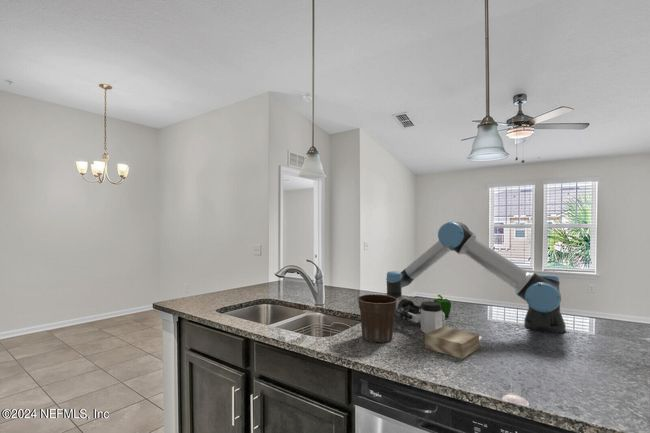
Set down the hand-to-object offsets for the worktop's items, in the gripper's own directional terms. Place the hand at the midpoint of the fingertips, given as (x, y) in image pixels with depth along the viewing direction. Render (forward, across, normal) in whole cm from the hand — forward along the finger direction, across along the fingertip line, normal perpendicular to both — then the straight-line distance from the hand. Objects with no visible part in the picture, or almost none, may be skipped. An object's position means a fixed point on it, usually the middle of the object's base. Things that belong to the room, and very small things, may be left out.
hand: (430, 317), depth 141 cm
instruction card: (+11, -8, -6) cm, 14 cm away
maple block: (+19, +4, -6) cm, 20 cm away
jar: (0, 0, -6) cm, 6 cm away
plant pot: (0, +25, -6) cm, 26 cm away
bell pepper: (-20, -21, -6) cm, 29 cm away
